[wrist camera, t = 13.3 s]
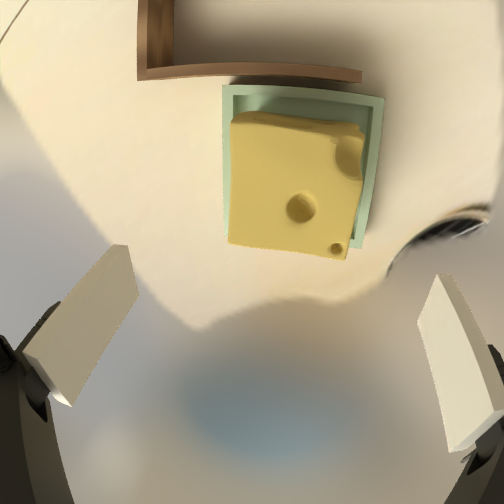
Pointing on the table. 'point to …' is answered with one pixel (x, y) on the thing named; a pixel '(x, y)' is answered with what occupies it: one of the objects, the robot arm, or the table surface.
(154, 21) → the cubby
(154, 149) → the table surface
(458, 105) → the table surface
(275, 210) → the cheese
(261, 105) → the tray
